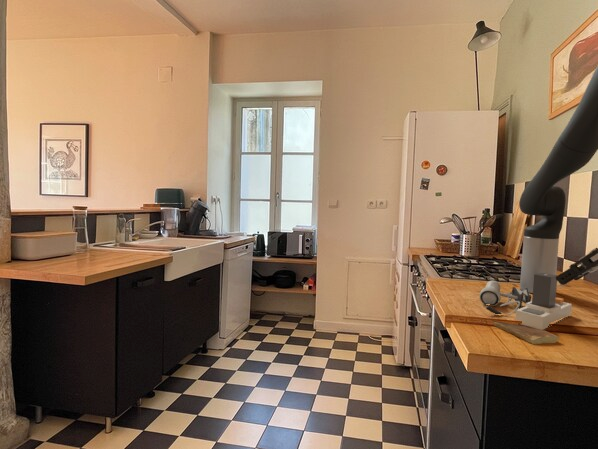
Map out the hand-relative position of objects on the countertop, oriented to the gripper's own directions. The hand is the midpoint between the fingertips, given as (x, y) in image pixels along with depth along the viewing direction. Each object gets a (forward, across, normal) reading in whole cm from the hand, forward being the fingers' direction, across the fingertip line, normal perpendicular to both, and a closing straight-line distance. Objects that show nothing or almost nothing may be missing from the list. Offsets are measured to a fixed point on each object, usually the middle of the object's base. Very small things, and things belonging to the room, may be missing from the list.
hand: (565, 279), depth 83 cm
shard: (+10, +15, +7) cm, 19 cm away
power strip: (+10, -2, +5) cm, 12 cm away
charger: (+8, 0, +3) cm, 9 cm away
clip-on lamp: (+18, -2, -2) cm, 18 cm away
